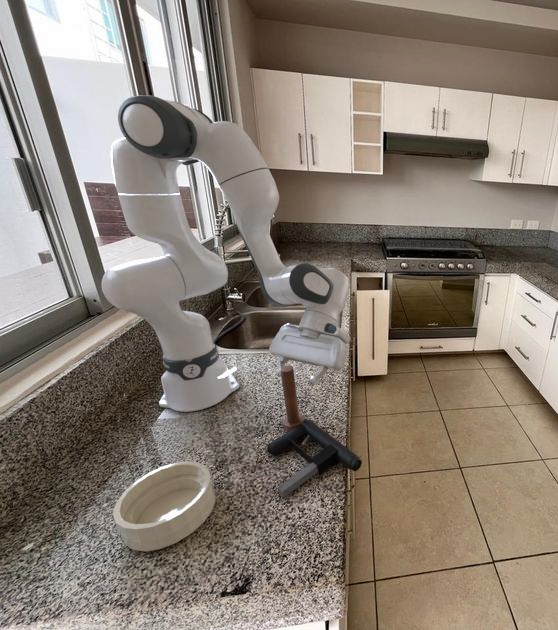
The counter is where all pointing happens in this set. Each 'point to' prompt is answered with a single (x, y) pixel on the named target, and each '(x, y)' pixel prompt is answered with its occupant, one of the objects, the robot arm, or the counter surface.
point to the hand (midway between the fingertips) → (296, 380)
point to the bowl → (165, 506)
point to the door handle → (318, 462)
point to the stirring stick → (290, 399)
